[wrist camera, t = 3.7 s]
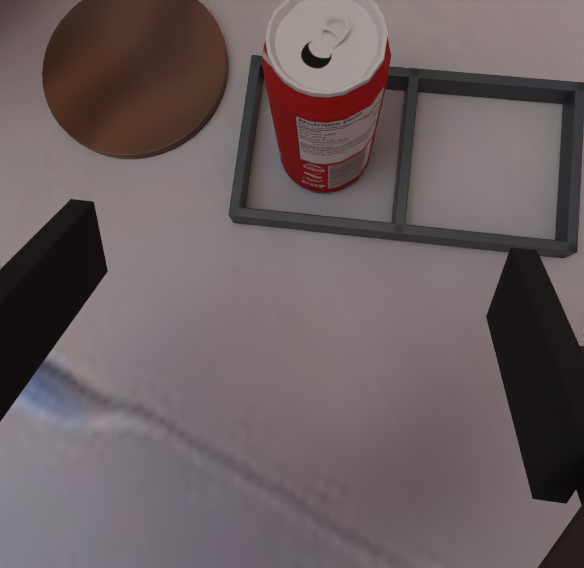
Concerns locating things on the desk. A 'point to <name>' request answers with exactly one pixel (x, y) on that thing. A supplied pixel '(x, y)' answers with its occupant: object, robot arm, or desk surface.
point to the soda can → (326, 87)
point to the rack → (576, 113)
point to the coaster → (135, 74)
